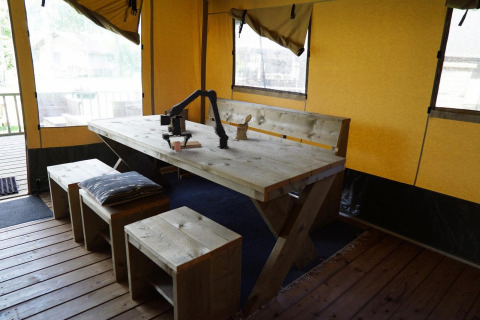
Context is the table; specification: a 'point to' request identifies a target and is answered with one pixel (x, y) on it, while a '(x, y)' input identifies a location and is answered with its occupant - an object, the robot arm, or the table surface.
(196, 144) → the board
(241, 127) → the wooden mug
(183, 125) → the wooden container
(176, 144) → the pink and yellow hammer
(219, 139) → the robot arm
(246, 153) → the table surface
